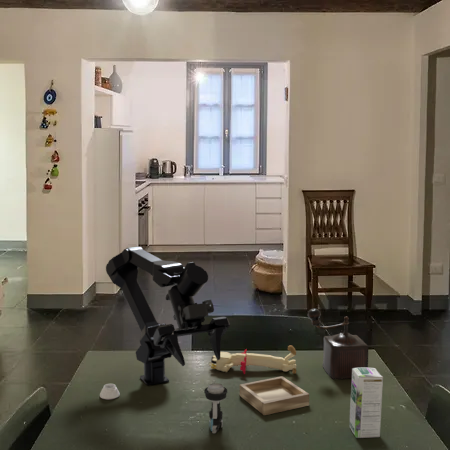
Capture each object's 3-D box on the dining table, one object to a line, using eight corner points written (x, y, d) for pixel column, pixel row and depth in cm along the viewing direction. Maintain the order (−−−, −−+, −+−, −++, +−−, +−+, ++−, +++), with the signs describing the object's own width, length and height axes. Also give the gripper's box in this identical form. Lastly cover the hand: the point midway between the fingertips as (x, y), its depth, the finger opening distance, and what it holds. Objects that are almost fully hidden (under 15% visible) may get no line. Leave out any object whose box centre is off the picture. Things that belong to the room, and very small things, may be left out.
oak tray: (239, 395, 162) (239, 384, 161) (282, 386, 167) (282, 376, 167) (264, 415, 150) (264, 403, 150) (309, 405, 156) (309, 394, 155)
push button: (225, 436, 140) (225, 393, 138) (201, 434, 140) (201, 392, 139) (228, 422, 146) (228, 382, 145) (206, 421, 147) (206, 381, 145)
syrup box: (348, 426, 144) (350, 367, 142) (373, 425, 145) (375, 366, 143) (355, 438, 139) (357, 376, 136) (381, 437, 139) (383, 376, 137)
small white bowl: (123, 396, 161) (112, 391, 165) (123, 385, 161) (112, 380, 164) (107, 402, 158) (96, 396, 161) (106, 391, 157) (95, 385, 161)
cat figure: (293, 369, 184) (209, 361, 185) (296, 340, 183) (212, 333, 183) (295, 382, 174) (207, 373, 175) (299, 352, 173) (210, 344, 174)
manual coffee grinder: (355, 363, 184) (357, 305, 182) (368, 378, 174) (370, 316, 171) (304, 366, 182) (305, 307, 180) (314, 380, 171) (316, 318, 169)
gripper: (156, 293, 147) (173, 352, 138) (227, 285, 155) (247, 340, 146) (146, 317, 155) (162, 374, 146) (213, 308, 163) (232, 361, 155)
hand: (201, 362), depth 148 cm, fingers open, 9 cm apart
